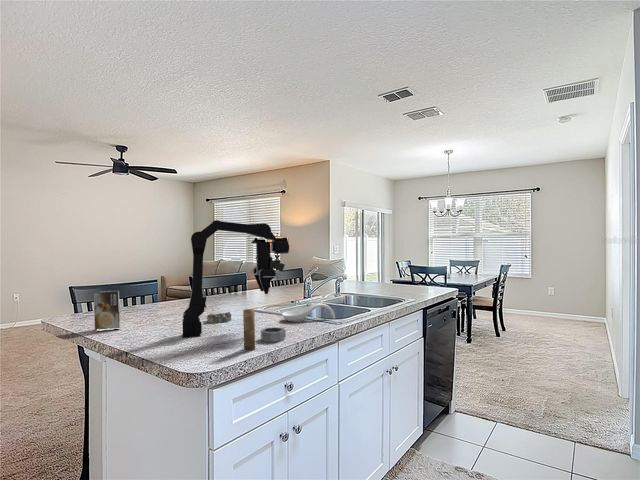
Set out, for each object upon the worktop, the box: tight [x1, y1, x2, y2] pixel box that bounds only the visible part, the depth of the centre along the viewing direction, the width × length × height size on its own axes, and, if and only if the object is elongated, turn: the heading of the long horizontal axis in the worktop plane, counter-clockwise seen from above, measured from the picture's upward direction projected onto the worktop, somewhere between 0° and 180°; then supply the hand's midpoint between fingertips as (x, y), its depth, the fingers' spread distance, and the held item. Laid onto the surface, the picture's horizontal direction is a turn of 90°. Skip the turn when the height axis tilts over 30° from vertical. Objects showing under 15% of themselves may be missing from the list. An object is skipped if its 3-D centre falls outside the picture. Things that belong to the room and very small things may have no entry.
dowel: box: [242, 308, 256, 352], centre depth 124 cm, size 4×4×13 cm
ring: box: [260, 326, 287, 343], centre depth 137 cm, size 8×8×3 cm
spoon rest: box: [281, 302, 336, 323], centre depth 171 cm, size 24×12×7 cm, turn 101°
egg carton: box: [206, 311, 232, 324], centre depth 171 cm, size 11×8×4 cm
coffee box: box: [93, 289, 121, 331], centre depth 158 cm, size 9×6×16 cm
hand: (264, 292), depth 154 cm, fingers open, 9 cm apart
